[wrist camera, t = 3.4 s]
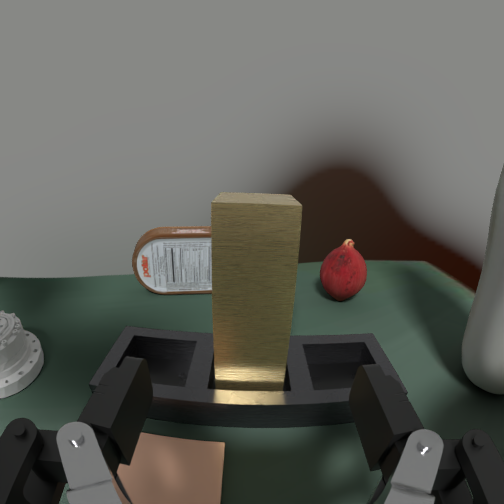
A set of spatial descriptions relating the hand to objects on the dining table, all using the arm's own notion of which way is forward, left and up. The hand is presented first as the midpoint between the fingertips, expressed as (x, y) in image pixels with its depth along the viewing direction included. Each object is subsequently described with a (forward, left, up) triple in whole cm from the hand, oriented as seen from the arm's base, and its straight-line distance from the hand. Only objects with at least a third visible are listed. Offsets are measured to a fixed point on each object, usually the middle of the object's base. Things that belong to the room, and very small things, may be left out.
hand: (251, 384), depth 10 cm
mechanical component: (-12, +20, -9) cm, 26 cm away
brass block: (+6, +6, -8) cm, 12 cm away
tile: (-4, +3, -9) cm, 10 cm away
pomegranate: (+25, +9, -9) cm, 28 cm away
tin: (+13, +23, -9) cm, 28 cm away
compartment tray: (+6, +6, -9) cm, 12 cm away
